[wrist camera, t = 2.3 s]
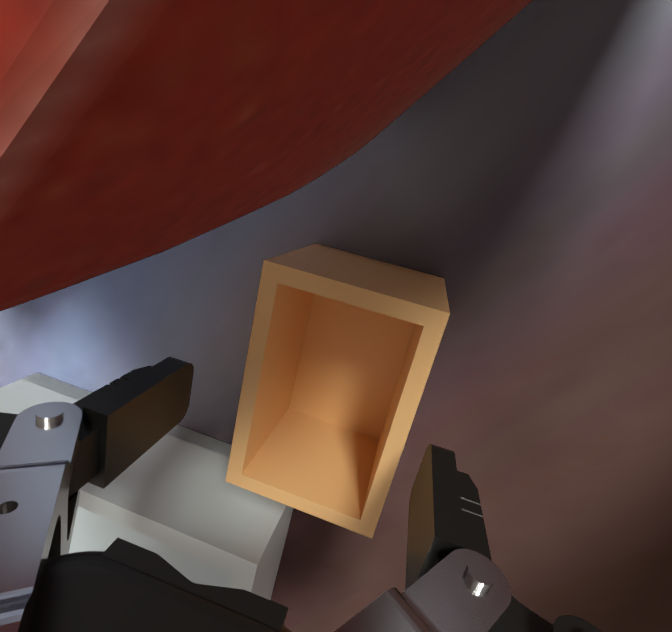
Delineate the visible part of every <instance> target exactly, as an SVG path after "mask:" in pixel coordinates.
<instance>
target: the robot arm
mask: <svg viewBox="0 0 672 632" xmlns="http://www.w3.org/2000/svg"><path fill="white" fill-rule="evenodd" d="M193 370H194V369H193V365H192V364H191V363H188V362H185V361H182V360H179V359H176V358H173V357H168V358H166V359H165V360H163V361H161V362H159V363H158V364H156V365H154V366H153V367H152V366H147V367H143V368H139V369H135V370H132V371H131V372H129V373H127V374H125V375H123V376H122V377H121V378H120V379H116V380H114V381H113V382H111V383H110V384H109V385H108V384H107V385H105V386H104V387H102V388H100V389H98V390H96V391H95V392H93V393H91V394H89V395H87V396H86V397H84V398H82V399H80V400H78V401H77V402H75V403H73V404H71V403H67V402H47V403H41V404H37V405H34V406H31V407H29V408H27V409H25V410H23V411H22V412H20V413H19V414H11V413H3V412H0V632H291V631H290V630H289V629H287V628H286V627H285V626H284V621H285V617H286V614H287V610H288V607H285V606H283V605H280V604H278V603H275V602H273V601H271V600H268V599H266V598H263V597H261V596H259V595H256V594H254V593H251V592H249V591H246V590H244V589H236V588H228V587H220V586H212V585H204V584H197V583H193V582H191V581H190V580H188V579H187V578H186V577H185V576H184V575H182V574H181V573H180V572H179V571H178V570H176V569H175V568H174V567H173V566H172V565H170V564H169V563H168V562H167V561H166V560H164V559H163V558H162V557H161V556H160V555H158V554H157V553H154V552H152V551H150V550H147V549H145V548H142V547H140V546H138V545H135V544H133V543H130V542H128V541H125V540H123V539H121V538H118V537H117V539H116V540H115V541H114V542H113V543H112V544H111V545H110V546H109V547H108V548H107V549H106V550H105V551H84V552H75V553H69V549H70V544H71V539H72V534H73V528H74V523H75V518H76V513H77V508H78V503H79V498H80V488H82V487H83V486H84V485H85V484H87V483H90V484H93V485H95V486H98V487H100V488H103V489H104V488H105V487H106V486H108V485H109V484H110V483H111V482H112V481H113V480H114V479H116V478H117V477H118V476H119V475H120V474H121V473H122V472H124V471H125V470H126V469H127V468H128V467H129V466H130V465H132V464H133V463H134V462H135V461H136V460H137V459H138V458H140V457H141V456H142V455H143V454H144V453H145V452H146V451H148V450H149V449H150V448H151V447H152V446H153V445H154V444H156V443H157V442H158V441H159V440H160V439H161V438H162V437H164V436H165V435H166V434H167V433H168V432H169V431H170V430H172V429H173V428H174V427H175V426H176V425H177V424H178V423H179V422H180V421H181V420H182V419H183V418H184V416H185V414H186V412H187V410H188V407H189V401H190V394H191V386H192V379H193ZM482 515H483V514H482V509H481V506H480V499H479V494H478V489H477V487H476V486H475V484H474V483H473V481H472V480H471V478H470V477H469V475H468V474H465V473H463V472H460V471H457V468H456V460H455V453H454V452H453V451H450V450H447V449H444V448H441V447H438V446H435V445H432V444H429V445H428V447H427V449H426V452H425V455H424V457H423V460H422V463H421V465H420V468H419V471H418V473H417V476H416V479H415V482H414V484H413V488H412V491H411V496H410V502H409V519H408V541H407V563H406V585H405V591H404V592H402V593H400V592H399V591H398V590H397V588H391V589H389V590H387V591H386V592H384V593H383V594H382V595H380V596H379V597H378V598H377V599H375V600H374V601H373V602H372V603H370V604H369V605H368V606H366V607H365V608H364V609H363V610H361V611H360V612H359V613H358V614H356V615H355V616H354V617H352V618H351V619H350V620H349V621H347V622H346V623H345V624H343V625H342V626H341V627H340V628H338V629H337V630H336V631H335V632H601V631H600V630H599V629H597V628H596V627H595V626H593V625H592V624H590V623H588V622H587V621H585V620H583V619H581V618H578V617H575V616H570V615H563V616H560V617H559V618H557V619H556V621H555V622H554V624H553V625H552V624H550V623H549V622H547V621H546V620H544V619H543V618H541V617H540V616H538V615H537V614H535V613H534V612H532V611H531V610H529V609H528V608H526V607H525V606H524V605H522V604H521V603H520V602H518V601H517V600H516V599H515V598H514V597H513V596H512V595H511V589H510V586H509V583H508V581H507V579H506V577H505V576H504V574H503V573H502V571H501V570H500V569H499V568H498V567H497V566H496V565H495V564H494V563H493V562H492V560H491V555H490V550H489V545H488V540H487V535H486V530H485V525H484V520H483V518H482Z"/></svg>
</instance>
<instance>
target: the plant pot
mask: <svg viewBox="0 0 672 632" xmlns="http://www.w3.org/2000/svg"><path fill="white" fill-rule="evenodd" d="M531 1H533V0H0V311H2V310H5V309H8V308H11V307H14V306H17V305H19V304H22V303H25V302H28V301H31V300H34V299H36V298H39V297H42V296H44V295H47V294H50V293H53V292H55V291H58V290H61V289H63V288H66V287H69V286H71V285H74V284H77V283H80V282H82V281H85V280H88V279H90V278H93V277H96V276H98V275H101V274H104V273H107V272H109V271H112V270H115V269H117V268H120V267H123V266H125V265H128V264H131V263H134V262H136V261H139V260H142V259H144V258H147V257H150V256H152V255H155V254H158V253H161V252H163V251H166V250H168V249H170V248H172V247H175V246H177V245H179V244H181V243H184V242H186V241H188V240H190V239H193V238H195V237H197V236H199V235H201V234H204V233H206V232H208V231H210V230H213V229H215V228H217V227H219V226H222V225H224V224H226V223H228V222H231V221H233V220H235V219H237V218H240V217H242V216H244V215H246V214H249V213H251V212H253V211H255V210H257V209H259V208H261V207H263V206H266V205H268V204H270V203H272V202H274V201H276V200H278V199H280V198H283V197H285V196H287V195H289V194H291V193H292V192H294V191H296V190H298V189H299V188H301V187H303V186H305V185H306V184H308V183H310V182H312V181H313V180H315V179H317V178H318V177H320V176H321V175H323V174H324V173H326V172H327V171H329V170H331V169H332V168H334V167H335V166H337V165H338V164H340V163H341V162H343V161H344V160H346V159H347V158H349V157H350V156H352V155H353V154H355V153H356V152H357V151H359V150H360V149H361V148H362V147H364V146H365V145H366V144H367V143H368V142H370V141H371V140H372V139H373V138H375V137H376V136H377V135H378V134H379V133H380V132H382V131H383V130H384V129H385V128H386V127H387V126H388V125H390V124H391V123H392V122H393V121H394V120H395V119H397V118H398V117H399V116H400V115H401V114H402V113H404V112H405V111H406V110H407V109H408V108H409V107H411V106H412V105H413V104H414V103H415V102H416V101H418V100H419V99H420V98H421V97H422V96H423V95H425V94H426V93H427V92H428V91H429V90H430V89H432V88H433V87H434V86H435V85H436V84H437V83H439V82H440V81H441V80H442V79H443V78H444V77H445V76H447V75H448V74H449V73H450V72H451V71H452V70H454V69H455V68H456V67H457V66H458V65H459V64H460V63H462V62H463V61H464V60H465V59H466V58H467V57H468V56H470V55H471V54H472V53H473V52H474V51H475V50H476V49H478V48H479V47H480V46H481V45H482V44H483V43H484V42H486V41H487V40H488V39H489V38H490V37H491V36H492V35H494V34H495V33H496V32H497V31H498V30H499V29H500V28H502V27H503V26H504V25H505V24H506V23H507V22H509V21H510V20H511V19H512V18H513V17H514V16H515V15H517V14H518V13H519V12H520V11H521V10H522V9H523V8H525V7H526V6H527V5H528V4H529V3H530V2H531Z"/></svg>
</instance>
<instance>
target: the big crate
mask: <svg viewBox="0 0 672 632" xmlns="http://www.w3.org/2000/svg"><path fill="white" fill-rule="evenodd" d="M89 394H91V392H89V391H86V390H83V389H81V388H78V387H75V386H73V385H70V384H67V383H65V382H62V381H59V380H57V379H54V378H51V377H49V376H46V375H43V374H41V373H38V372H37V373H35V374H32V375H30V376H28V377H25V378H23V379H20V380H18V381H16V382H13V383H11V384H9V385H6V386H4V387H1V388H0V412H3V413H11V414H19V413H20V412H22V411H23V410H25V409H27V408H29V407H31V406H34V405H37V404H41V403H47V402H67V403H71V404H73V403H75V402H77V401H78V400H80V399H82V398H84V397H86V396H87V395H89ZM231 446H232V445H231V444H228V443H225V442H223V441H220V440H217V439H215V438H212V437H209V436H207V435H204V434H201V433H198V432H196V431H193V430H190V429H188V428H185V427H182V426H180V425H176V426H175V427H174V428H173V429H172V430H170V431H169V432H168V433H167V434H166V435H165V436H164V437H162V438H161V439H160V440H159V441H158V442H157V443H156V444H154V445H153V446H152V447H151V448H150V449H149V450H148V451H146V452H145V453H144V454H143V455H142V456H141V457H140V458H138V459H137V460H136V461H135V462H134V463H133V464H132V465H130V466H129V467H128V468H127V469H126V470H125V471H124V472H122V473H121V474H120V475H119V476H118V477H117V478H116V479H114V480H113V481H112V482H111V483H110V484H109V485H108V486H106V487H105V488H104V489H103V488H100V487H98V486H95V485H93V484H90V483H87V484H85V485H84V486H83V487H82V488H80V498H79V503H78V508H77V513H76V518H75V523H74V528H73V534H72V539H71V544H70V549H69V553H75V552H84V551H105V550H106V549H107V548H108V547H109V546H110V545H111V544H112V543H113V542H114V541H115V540H116V539H117V537H118V538H121V539H123V540H125V541H128V542H130V543H133V544H135V545H138V546H140V547H142V548H145V549H147V550H150V551H152V552H154V553H157V554H158V555H160V556H161V557H162V558H163V559H164V560H166V561H167V562H168V563H169V564H170V565H172V566H173V567H174V568H175V569H176V570H178V571H179V572H180V573H181V574H182V575H184V576H185V577H186V578H187V579H188V580H190V581H191V582H193V583H197V584H204V585H212V586H220V587H228V588H236V589H244V590H246V591H249V592H251V593H254V594H256V595H259V596H261V597H263V598H266V599H268V600H271V596H272V592H273V588H274V584H275V580H276V576H277V572H278V568H279V564H280V561H281V557H282V553H283V549H284V545H285V541H286V537H287V533H288V529H289V525H290V521H291V517H292V513H293V509H294V508H292V507H290V506H287V505H285V504H282V503H280V502H277V501H275V500H272V499H269V498H267V497H264V496H262V495H259V494H257V493H254V492H252V491H249V490H246V489H244V488H241V487H239V486H236V485H234V484H231V483H229V482H226V475H227V469H228V464H229V458H230V452H231Z"/></svg>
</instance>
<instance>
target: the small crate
mask: <svg viewBox="0 0 672 632" xmlns="http://www.w3.org/2000/svg"><path fill="white" fill-rule="evenodd" d="M449 315H450V310H449V304H448V298H447V293H446V287H445V281H444V278H441V277H437V276H433V275H430V274H426V273H423V272H419V271H415V270H412V269H408V268H404V267H401V266H397V265H393V264H390V263H386V262H382V261H379V260H375V259H371V258H368V257H364V256H360V255H357V254H353V253H349V252H346V251H342V250H339V249H335V248H331V247H328V246H324V245H320V244H317V243H316V244H313V245H310V246H307V247H303V248H300V249H297V250H294V251H291V252H287V253H284V254H281V255H278V256H275V257H271V258H268V259H265V260H264V261H263V267H262V273H261V278H260V284H259V290H258V296H257V302H256V307H255V313H254V319H253V325H252V330H251V336H250V342H249V348H248V354H247V359H246V365H245V371H244V377H243V383H242V388H241V394H240V400H239V406H238V411H237V417H236V423H235V429H234V435H233V440H232V446H231V452H230V458H229V464H228V469H227V475H226V482H229V483H231V484H234V485H236V486H239V487H241V488H244V489H246V490H249V491H252V492H254V493H257V494H259V495H262V496H264V497H267V498H269V499H272V500H275V501H277V502H280V503H282V504H285V505H287V506H290V507H292V508H295V509H298V510H300V511H303V512H305V513H308V514H310V515H313V516H315V517H318V518H321V519H323V520H326V521H328V522H331V523H333V524H336V525H339V526H341V527H344V528H346V529H349V530H351V531H354V532H356V533H359V534H362V535H364V536H367V537H369V538H372V537H373V534H374V531H375V528H376V525H377V523H378V520H379V517H380V514H381V511H382V508H383V505H384V502H385V500H386V497H387V494H388V491H389V488H390V485H391V482H392V479H393V476H394V474H395V471H396V468H397V465H398V462H399V459H400V456H401V453H402V451H403V448H404V445H405V442H406V439H407V436H408V433H409V430H410V428H411V425H412V422H413V419H414V416H415V413H416V410H417V407H418V405H419V402H420V399H421V396H422V393H423V390H424V387H425V384H426V382H427V379H428V376H429V373H430V370H431V367H432V364H433V361H434V359H435V356H436V353H437V350H438V347H439V344H440V341H441V338H442V336H443V333H444V330H445V327H446V324H447V321H448V318H449Z"/></svg>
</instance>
